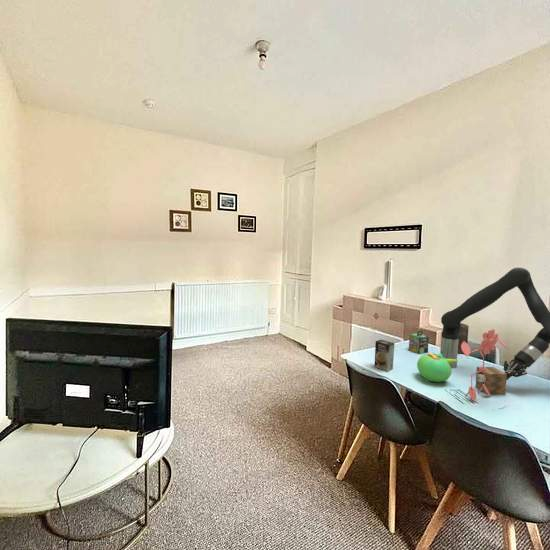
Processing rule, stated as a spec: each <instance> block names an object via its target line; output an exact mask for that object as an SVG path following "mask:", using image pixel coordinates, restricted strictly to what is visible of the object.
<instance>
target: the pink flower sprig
mask: <svg viewBox="0 0 550 550" xmlns="http://www.w3.org/2000/svg"><path fill="white" fill-rule="evenodd" d="M495 333H496V332H495V329H494V328H492V329H489V330H488V331H487V332H483V333H482V338H483V339H482V341H481V342H480V345H479V348H477V349H474V350H472V351H471V346H470V345H469V344H467V343H466V342H465V341H463V343H462V345H461V349H462V351H463V353H462V354H464V355H465V356H466V357H469V356H470V354H473V353H475V352H476V351H479V353H480V354H481V357H482V365H481V366H478V367H479V370H480V371H481V372H484V384H483V387H484V389H485V391H486V392H487V394H488V397H491V395H490V394H489V391H488V389H487V387H486V386H485V371H486V368H485V367H486V366H485V356H486V355H490V353H491V351H495V350H496V348H497V347H496V344H497V343H498V342H499V343H500V344H501V345H502V346H503V347H504V348H508V347H507V346H508V345H506V344H505V343H504V341H503V340H502V339H501V338H500V337H499V333H496V334H495ZM482 351H483V353H482ZM480 371H478V372H480ZM478 372H477V371H476V372H474V373H472V374H471V375H470V376H471V377H470V378H471V379H470V380H471V381H470V383H471V384H470V385H471V386H469V387H468V391H467V392H466V393H465V395H464V397H467V396H468V395H469V397H470V399H471V400H472V401H473V402H474V403H475V402H476V401H477V394H480V393H481V392H482V391H481V390H482V389H483V387H482V388H481V389H479V390H478V392H476V389H475V388H474V387H473V375H476V373H478ZM487 394H486V395H487ZM456 398H457V400H459V399H458V397H456ZM503 400H504V402H506V400H505V399H503ZM504 408H505V406H503V407H502V408H499V410H500V409H504Z"/></svg>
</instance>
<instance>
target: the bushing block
mask: <svg viewBox="0 0 550 550" xmlns="http://www.w3.org/2000/svg"><path fill="white" fill-rule="evenodd" d="M479 367H480V366H476V372H478V371H480V370H479ZM484 367H485V368H486V371H485V375H486V382H485V386H486V387H487V389H488V391H489V394H490V396H491V395H494V396H496V395H500V396H501V395H506V390H507V381H508V380H507V374H506V373H505V371H502V370H500V369H498V368H497V367H494V366H484ZM476 372H475V373H476ZM478 374H484V372H481V371H480V372H478V373H476V374H475V377H476V378H475V385H474V386H475V387H476V388H477V389H479V390H480V389H481V388H482V387H483V384H484V382H478V380H477V375H478ZM480 392H483V393H484V394H485V395H488V394H487V392H486V391H485V389H484V387H483V389H482V390H481V391H480ZM488 396H489V395H488Z"/></svg>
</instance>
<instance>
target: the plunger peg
mask: <svg viewBox="0 0 550 550" xmlns="http://www.w3.org/2000/svg"><path fill="white" fill-rule="evenodd" d="M477 380H478V382H484V374H478V375H477ZM485 382H486V375H485Z"/></svg>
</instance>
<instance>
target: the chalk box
mask: <svg viewBox="0 0 550 550" xmlns="http://www.w3.org/2000/svg"><path fill="white" fill-rule="evenodd" d="M423 332H424V331H423V330H418V331H417V333H410V334H409V337H408V351H410V352H413V353H415V354H418V355H420V354H428V353H429V341H430V340H429V339H430V336H429V335H425V334H423Z"/></svg>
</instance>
